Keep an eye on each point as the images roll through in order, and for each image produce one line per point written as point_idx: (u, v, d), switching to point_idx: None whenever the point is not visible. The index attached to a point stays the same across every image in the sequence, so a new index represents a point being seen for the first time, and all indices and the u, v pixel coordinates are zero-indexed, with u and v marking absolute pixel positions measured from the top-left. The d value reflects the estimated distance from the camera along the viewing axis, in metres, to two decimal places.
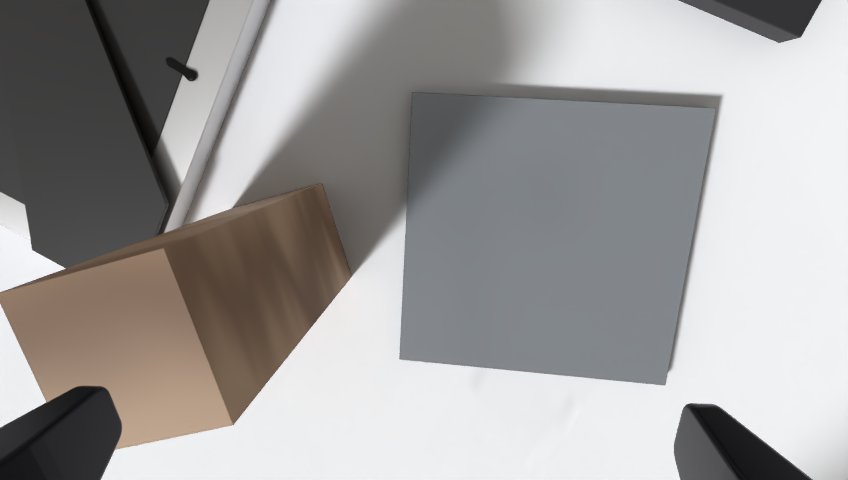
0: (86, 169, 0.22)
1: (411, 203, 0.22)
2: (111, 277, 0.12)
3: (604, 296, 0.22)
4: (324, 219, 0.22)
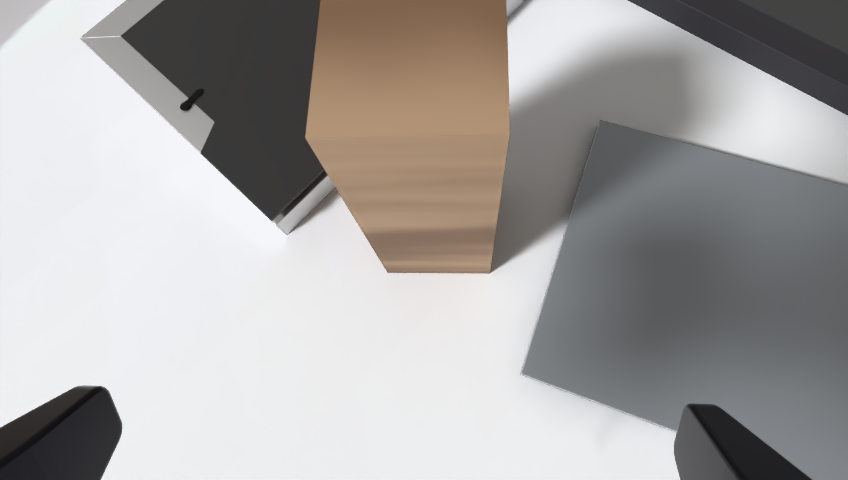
0: (292, 98, 0.24)
1: (577, 210, 0.22)
2: None
3: (774, 357, 0.20)
4: None
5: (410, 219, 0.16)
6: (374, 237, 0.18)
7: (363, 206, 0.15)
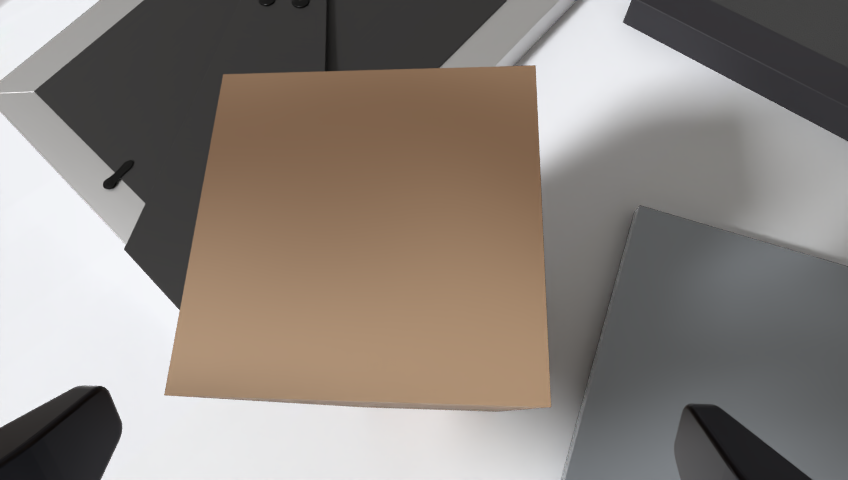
0: None
1: (612, 330, 0.17)
2: (427, 88, 0.07)
3: None
4: None
5: None
6: None
7: None
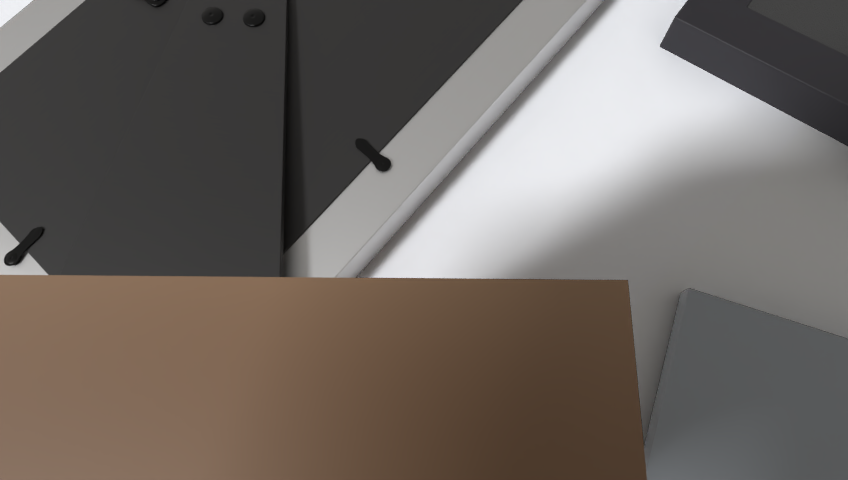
0: (180, 248, 0.14)
1: (657, 461, 0.13)
2: (367, 334, 0.03)
3: None
4: None
5: None
6: None
7: None
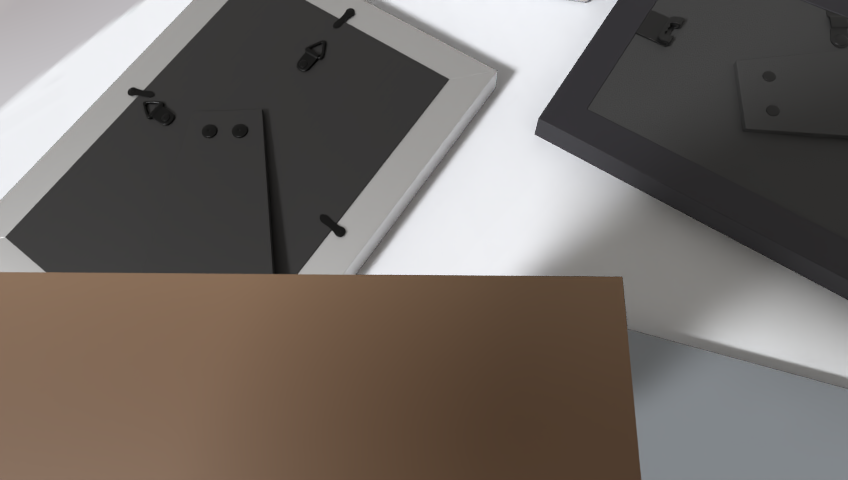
0: None
1: None
2: (364, 330, 0.03)
3: None
4: None
5: None
6: None
7: None
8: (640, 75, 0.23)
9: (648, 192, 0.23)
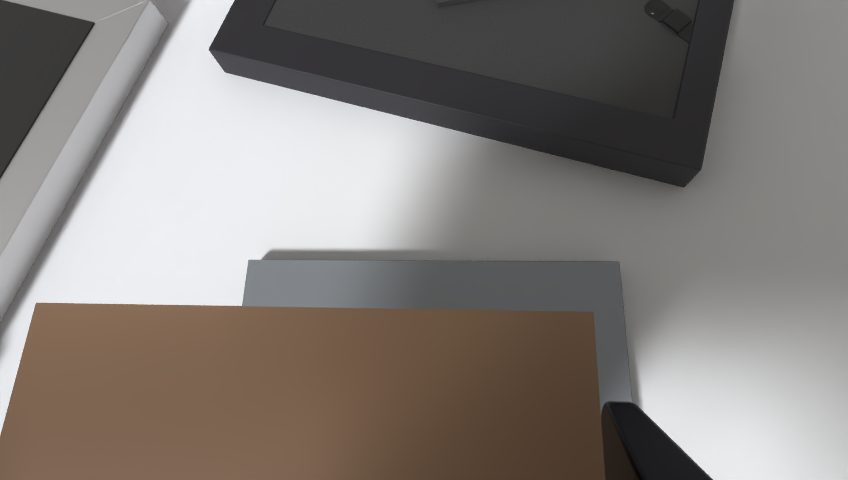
0: None
1: None
2: (393, 352, 0.04)
3: None
4: None
5: None
6: None
7: None
8: None
9: (356, 103, 0.19)
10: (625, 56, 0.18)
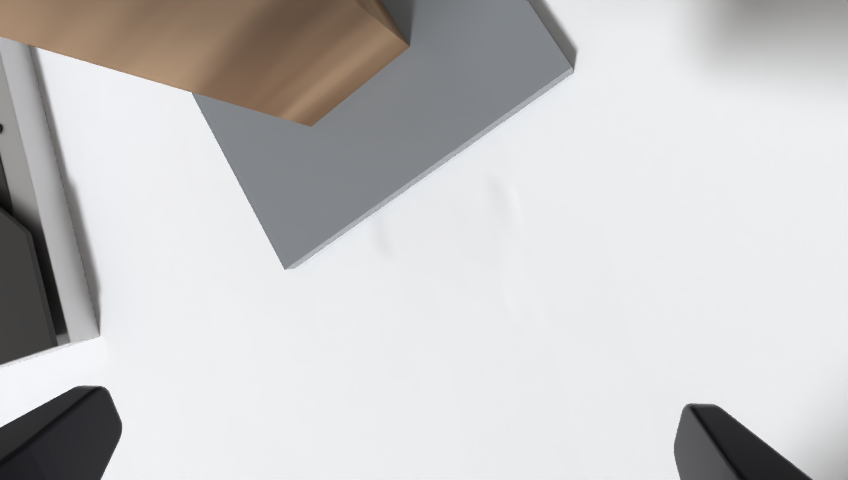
0: None
1: (202, 104, 0.20)
2: None
3: (420, 31, 0.17)
4: None
5: (196, 30, 0.11)
6: (213, 89, 0.14)
7: (117, 52, 0.11)
8: None
9: None
10: None
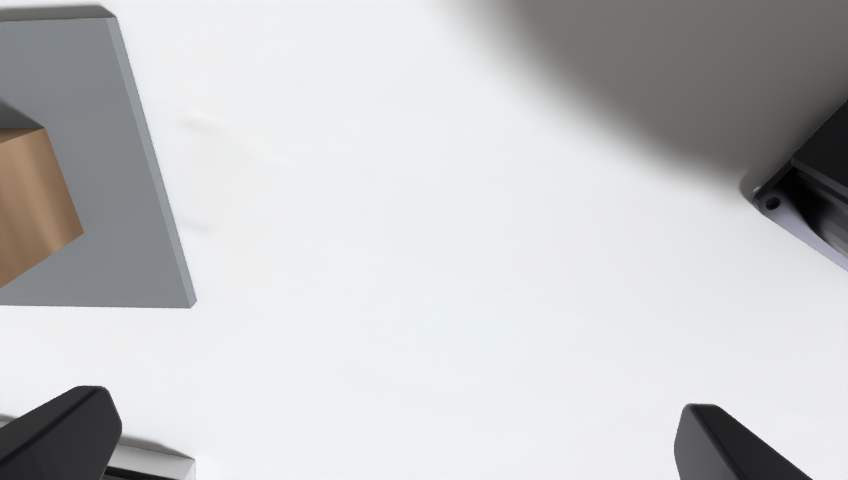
0: None
1: (36, 302, 0.24)
2: None
3: (35, 113, 0.19)
4: None
5: None
6: None
7: None
8: None
9: None
10: None
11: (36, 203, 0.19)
